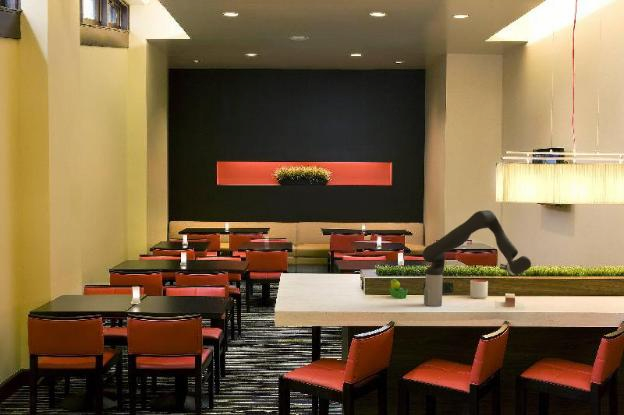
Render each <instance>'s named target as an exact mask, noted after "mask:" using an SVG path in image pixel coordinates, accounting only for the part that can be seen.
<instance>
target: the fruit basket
mask: <svg viewBox="0 0 624 415" xmlns="http://www.w3.org/2000/svg"><path fill="white" fill-rule="evenodd" d="M388 290H389V293H390V297H392V298H394V299H397V300H400V299H401V300H403V299H405V300H406V299H407V296H408V292H409V289H406V288H404V287H401V283H400V282H399V281H398V280H397V279H396V278H393V279H391V281H390V287H388Z"/></svg>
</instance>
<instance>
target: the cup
mask: <svg viewBox="0 0 624 415" xmlns="http://www.w3.org/2000/svg"><path fill="white" fill-rule="evenodd" d="M469 286H470V287H469V289H470V290H469V296H470V298H472V299H476V298H477V299H479V300H482V299H487V298H488V293H489V292H488V290H489V288H488V287H489V281H488V280H484V279H470V285H469Z"/></svg>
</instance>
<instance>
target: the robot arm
mask: <svg viewBox="0 0 624 415" xmlns="http://www.w3.org/2000/svg"><path fill="white" fill-rule="evenodd" d="M482 229H489V231H491V233H492V234H493V235H494V238H495V242H496V246H497V248H498V249H499V251H500V253H501V254H502V255H503V256H504V259H506V262H507V263H506V264H504V263H500V266H499V269H500V270H504V271H506V272H507V273H508V274H509V275H511V276H519V275H521V274H523V273H524V272H526V271H528V270H529V269H531V267H532V261H531V260H530V258H529V257H528V256H525V255H522V256H520V257H518V258H516V257H517V255H519V254H518V253H519V251H518V249H517V248H516V247H515V244H513V242H512V241H511V240H510V238H509V237H508V236H507V234H506V233H505V230H504V229H503V227H502V224H500V221H499V220H498V217H497V216H496V214H495V213H494V212H493V211H492V210H487V209H486V210H479V211H475V213H473V214H472V215H471V216H469V218H467V220H466V221H464V222H463V223H461V224H459V225H457V227H455V228H454V229H452V230H451V231H449V232H448V233H447V234H445V235H443V236H442V237H441V238H440V239H438V240H436V241H435V242H434V243H431V244H429V245H427V246H426V247H425V248H424V249H423V252H422V258H423V260H424V261H425V262H427V263H431V265H430V266H429V267H427V268H426V269H425V287H424V289H423V305H425V306H428V307H441V306H442V305H443V274H444V273H443V272H444V270H445V262H446V261H445V260H446V252H448V251H452V250H454V249H457V248H460V246H462V245H464V244H465V243H467V242H468V241H469V239H470V237H471V235H473V234H474V233H475V232H477V231H479V230H482ZM515 258H516V259H515Z"/></svg>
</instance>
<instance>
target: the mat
mask: <svg viewBox="0 0 624 415" xmlns="http://www.w3.org/2000/svg"><path fill="white" fill-rule="evenodd" d="M494 309H498V310H499V309H500V310H520V311H526V307H525V303H524V302H522V301H521V302H520V301H515V307H506V306H505V300H504V301H503V300H502V301H501V300H500V301H499V300H494Z"/></svg>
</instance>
